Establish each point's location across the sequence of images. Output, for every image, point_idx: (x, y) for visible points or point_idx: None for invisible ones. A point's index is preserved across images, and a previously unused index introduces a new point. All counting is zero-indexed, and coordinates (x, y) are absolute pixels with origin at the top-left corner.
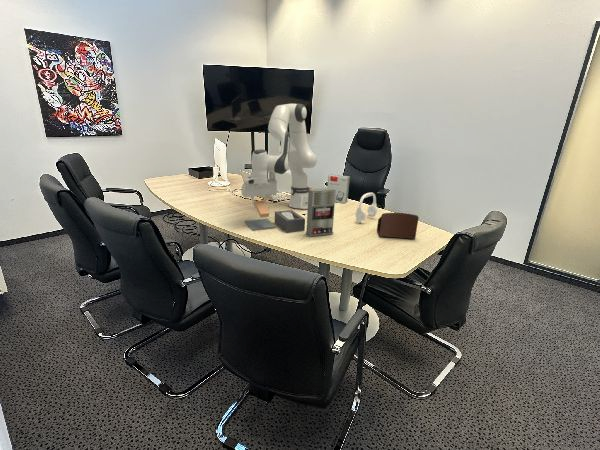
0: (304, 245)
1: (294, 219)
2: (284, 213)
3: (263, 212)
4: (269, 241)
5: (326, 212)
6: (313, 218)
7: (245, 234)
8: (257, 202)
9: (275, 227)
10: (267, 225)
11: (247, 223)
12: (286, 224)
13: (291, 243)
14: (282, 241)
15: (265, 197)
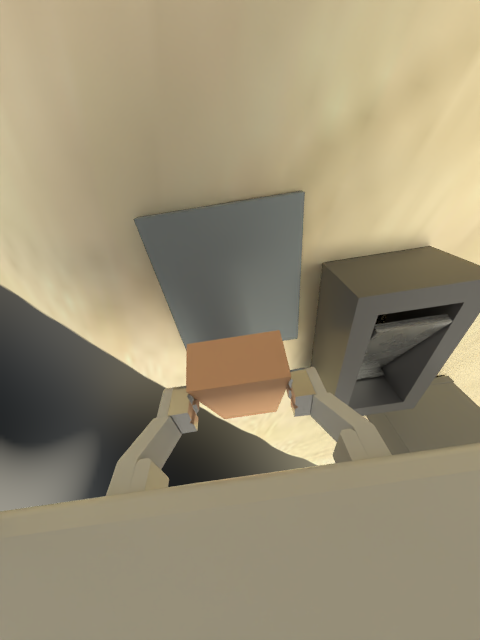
0: (308, 434)
1: (367, 411)
2: (393, 335)
3: (243, 414)
4: None
5: None
6: None
7: (159, 376)
8: (219, 394)
9: (292, 336)
10: (264, 320)
11: (159, 277)
12: None
13: (284, 426)
14: (267, 418)
15: (339, 416)
